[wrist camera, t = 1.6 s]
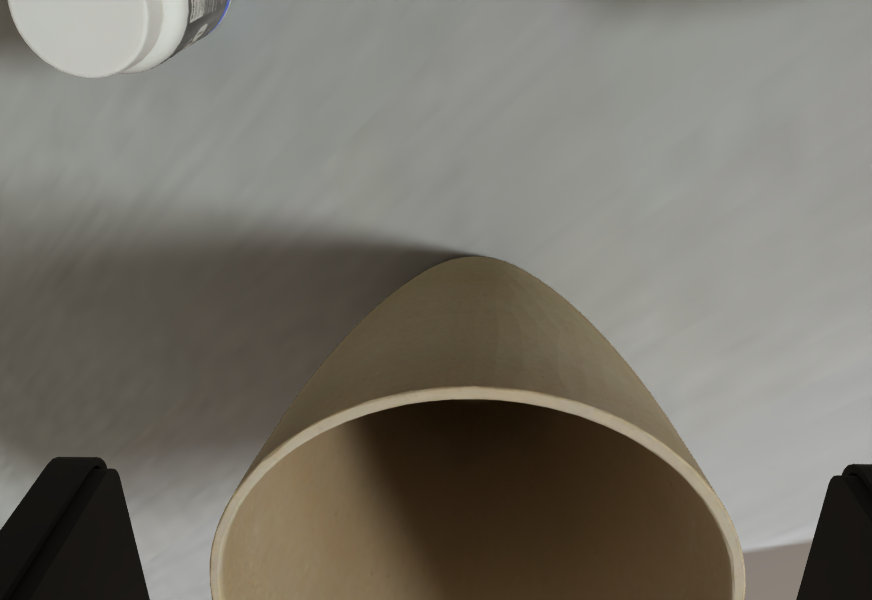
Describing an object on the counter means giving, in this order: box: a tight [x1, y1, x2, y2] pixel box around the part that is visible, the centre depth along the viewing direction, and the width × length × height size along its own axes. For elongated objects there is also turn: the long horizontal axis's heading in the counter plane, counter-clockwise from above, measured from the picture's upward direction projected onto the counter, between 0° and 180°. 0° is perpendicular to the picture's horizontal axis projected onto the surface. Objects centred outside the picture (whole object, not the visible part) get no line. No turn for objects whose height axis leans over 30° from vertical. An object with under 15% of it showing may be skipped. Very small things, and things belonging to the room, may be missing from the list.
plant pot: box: [210, 256, 745, 600], centre depth 29 cm, size 15×15×16 cm
